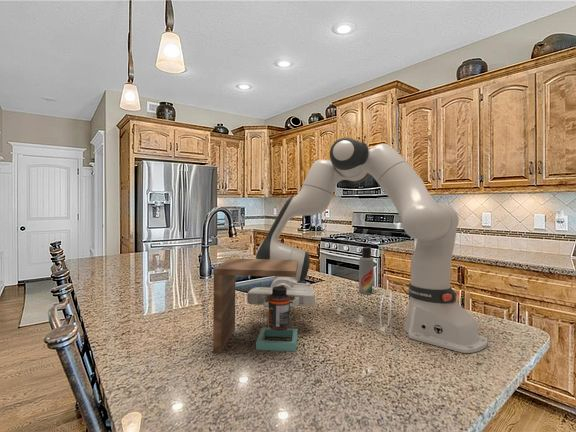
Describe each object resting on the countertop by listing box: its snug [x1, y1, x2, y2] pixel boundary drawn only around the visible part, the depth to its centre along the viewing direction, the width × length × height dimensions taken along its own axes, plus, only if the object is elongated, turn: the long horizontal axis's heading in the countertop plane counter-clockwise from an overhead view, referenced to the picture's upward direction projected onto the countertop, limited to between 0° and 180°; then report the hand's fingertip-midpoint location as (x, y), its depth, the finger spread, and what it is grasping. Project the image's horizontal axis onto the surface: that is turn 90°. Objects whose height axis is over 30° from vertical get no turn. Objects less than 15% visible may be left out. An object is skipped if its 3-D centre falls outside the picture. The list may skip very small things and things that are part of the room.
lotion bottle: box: [358, 246, 374, 295], centre depth 145 cm, size 6×6×20 cm
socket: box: [255, 326, 299, 352], centre depth 93 cm, size 10×10×2 cm
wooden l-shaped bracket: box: [212, 257, 298, 354], centre depth 93 cm, size 21×16×22 cm
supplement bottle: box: [268, 286, 291, 330], centre depth 95 cm, size 6×6×11 cm
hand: (279, 304), depth 94 cm, fingers closed on supplement bottle, 6 cm apart
